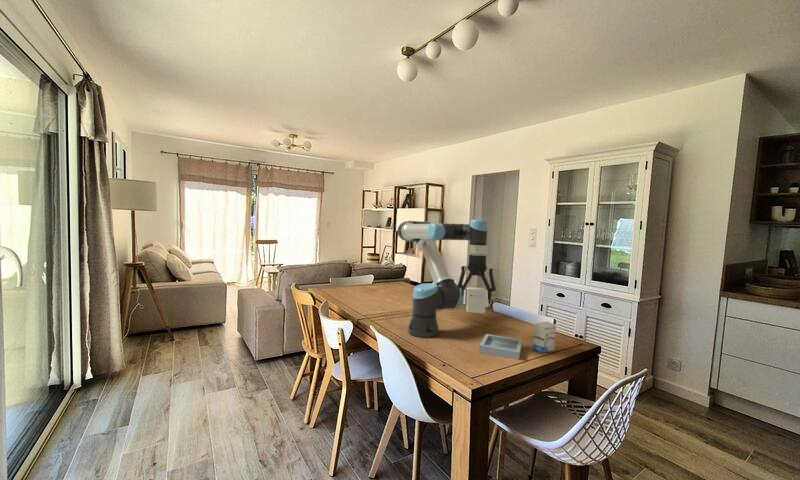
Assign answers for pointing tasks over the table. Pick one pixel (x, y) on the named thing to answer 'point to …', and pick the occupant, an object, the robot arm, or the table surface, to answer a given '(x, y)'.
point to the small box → (476, 299)
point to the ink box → (544, 337)
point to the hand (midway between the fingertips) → (475, 305)
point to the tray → (501, 346)
